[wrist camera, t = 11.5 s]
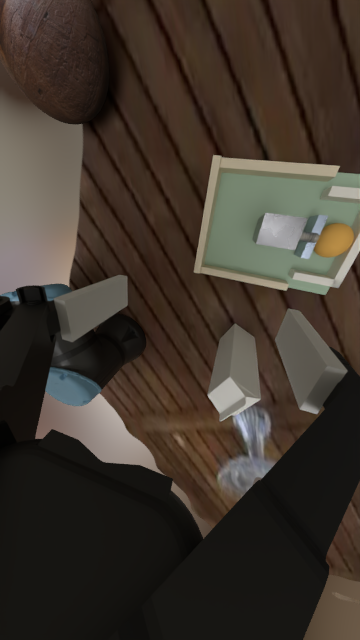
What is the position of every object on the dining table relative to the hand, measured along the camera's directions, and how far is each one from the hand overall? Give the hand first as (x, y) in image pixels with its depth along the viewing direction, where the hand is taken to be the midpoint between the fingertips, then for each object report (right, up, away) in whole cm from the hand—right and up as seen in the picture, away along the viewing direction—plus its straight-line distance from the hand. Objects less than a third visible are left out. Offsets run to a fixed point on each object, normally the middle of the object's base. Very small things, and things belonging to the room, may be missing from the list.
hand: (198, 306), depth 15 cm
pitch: (+16, +15, +19) cm, 29 cm away
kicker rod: (+16, +14, +17) cm, 28 cm away
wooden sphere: (-17, +42, +18) cm, 49 cm away
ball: (+23, +11, +14) cm, 29 cm away
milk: (+13, -6, +31) cm, 34 cm away
